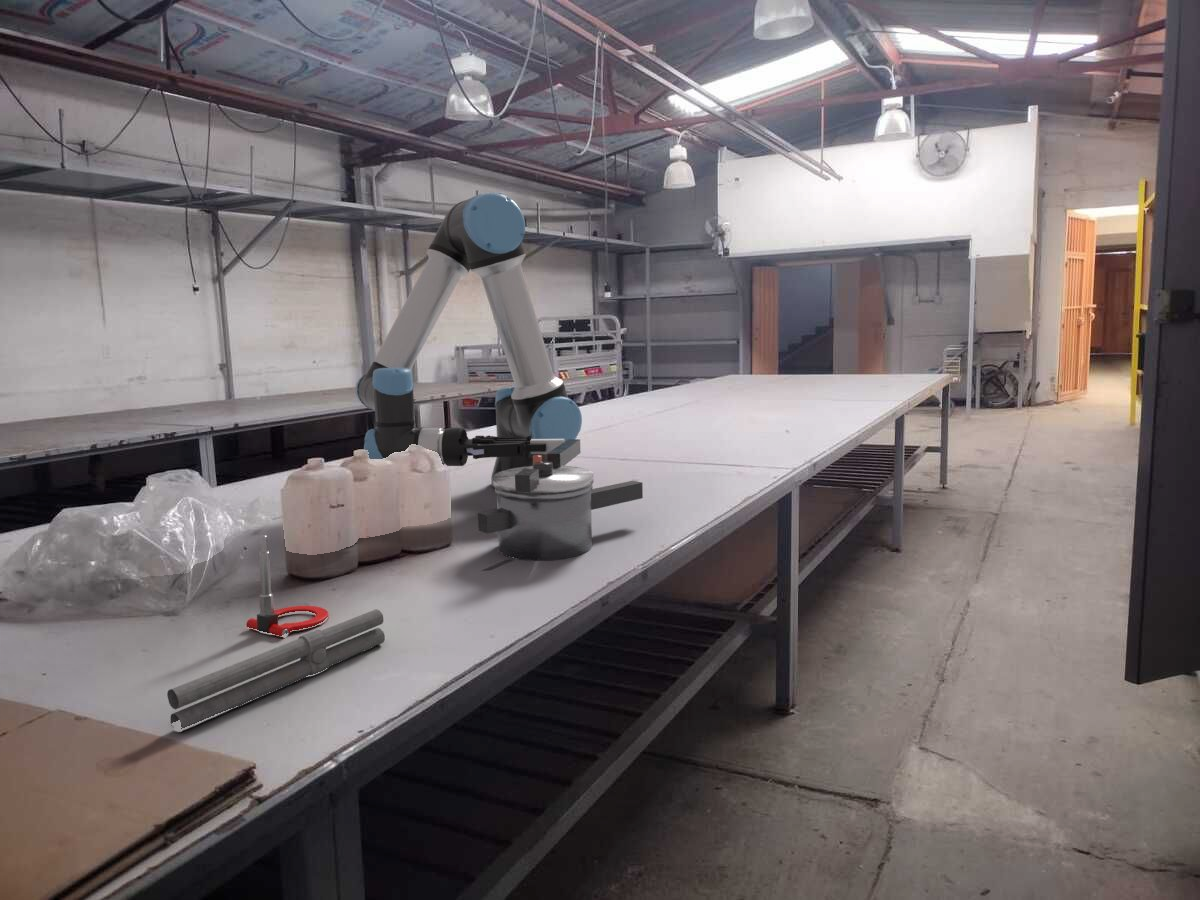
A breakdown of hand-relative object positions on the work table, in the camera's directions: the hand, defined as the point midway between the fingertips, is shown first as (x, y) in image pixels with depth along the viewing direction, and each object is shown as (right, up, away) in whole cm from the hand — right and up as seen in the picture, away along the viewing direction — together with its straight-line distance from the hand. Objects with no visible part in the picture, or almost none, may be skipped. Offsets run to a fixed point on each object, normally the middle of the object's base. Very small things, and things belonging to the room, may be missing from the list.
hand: (563, 446), depth 157 cm
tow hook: (-34, -24, -50) cm, 65 cm away
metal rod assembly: (-27, -27, -67) cm, 78 cm away
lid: (-2, -5, -14) cm, 15 cm away
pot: (+1, -17, -15) cm, 22 cm away
